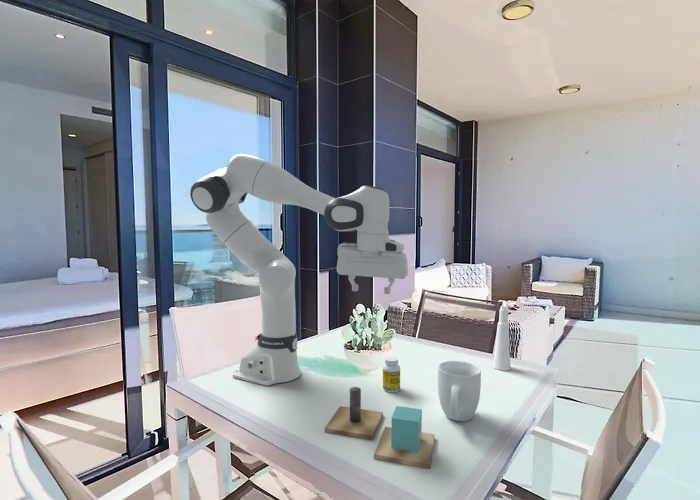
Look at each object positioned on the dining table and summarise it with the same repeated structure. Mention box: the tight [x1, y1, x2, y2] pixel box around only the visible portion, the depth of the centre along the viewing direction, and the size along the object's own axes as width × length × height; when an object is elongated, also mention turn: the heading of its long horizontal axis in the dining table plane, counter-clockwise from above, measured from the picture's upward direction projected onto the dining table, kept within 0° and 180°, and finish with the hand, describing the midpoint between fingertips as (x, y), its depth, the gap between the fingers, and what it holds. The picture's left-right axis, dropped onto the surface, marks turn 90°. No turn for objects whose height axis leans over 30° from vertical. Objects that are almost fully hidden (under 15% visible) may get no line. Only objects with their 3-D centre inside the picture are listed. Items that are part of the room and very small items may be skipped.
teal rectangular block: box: [391, 405, 423, 453], centre depth 90 cm, size 6×6×7 cm
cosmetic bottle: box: [492, 305, 512, 372], centre depth 138 cm, size 6×6×22 cm
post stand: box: [324, 386, 384, 441], centre depth 100 cm, size 12×12×9 cm
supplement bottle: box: [382, 356, 401, 393], centre depth 121 cm, size 5×5×10 cm
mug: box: [437, 360, 482, 422], centre depth 103 cm, size 15×11×13 cm
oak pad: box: [373, 426, 436, 469], centre depth 90 cm, size 12×12×1 cm
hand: (370, 292), depth 112 cm, fingers open, 8 cm apart
